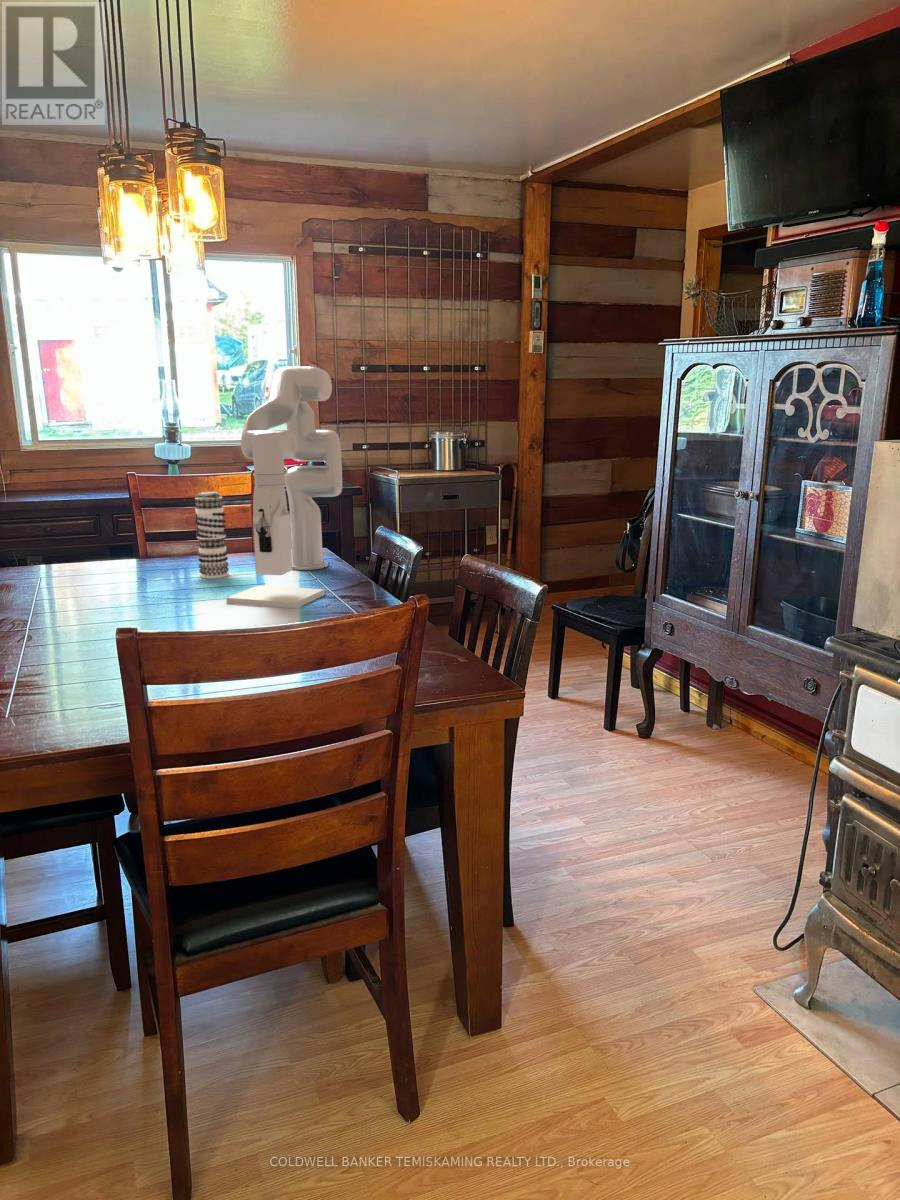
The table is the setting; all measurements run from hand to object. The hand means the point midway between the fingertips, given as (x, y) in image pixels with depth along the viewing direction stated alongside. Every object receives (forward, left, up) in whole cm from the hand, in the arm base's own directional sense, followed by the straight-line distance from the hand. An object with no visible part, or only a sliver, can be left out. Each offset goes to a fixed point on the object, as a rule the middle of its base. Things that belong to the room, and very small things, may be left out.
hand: (273, 549), depth 213 cm
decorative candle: (-23, -34, -14) cm, 43 cm away
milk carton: (0, 0, -7) cm, 7 cm away
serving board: (0, 0, -13) cm, 13 cm away
